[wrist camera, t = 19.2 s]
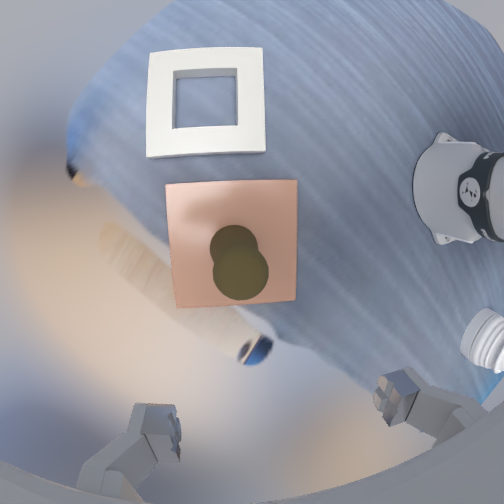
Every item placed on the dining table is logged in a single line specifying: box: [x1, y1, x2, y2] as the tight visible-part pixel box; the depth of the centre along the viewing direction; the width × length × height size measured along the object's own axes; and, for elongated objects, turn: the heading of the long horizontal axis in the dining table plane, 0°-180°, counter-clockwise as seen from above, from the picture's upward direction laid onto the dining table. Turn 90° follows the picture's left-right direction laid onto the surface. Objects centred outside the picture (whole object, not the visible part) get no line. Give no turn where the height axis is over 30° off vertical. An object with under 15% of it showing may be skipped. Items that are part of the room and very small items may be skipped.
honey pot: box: [460, 308, 504, 373], centre depth 40 cm, size 13×13×18 cm
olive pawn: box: [210, 225, 269, 301], centre depth 30 cm, size 6×6×11 cm
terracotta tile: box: [166, 180, 297, 308], centre depth 35 cm, size 16×16×1 cm
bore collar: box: [146, 47, 266, 159], centre depth 29 cm, size 13×13×3 cm
